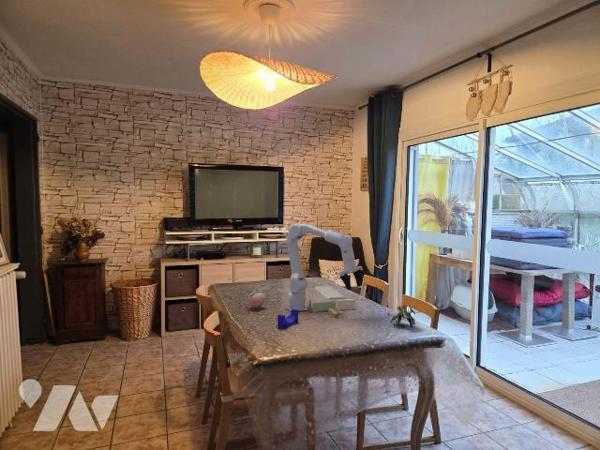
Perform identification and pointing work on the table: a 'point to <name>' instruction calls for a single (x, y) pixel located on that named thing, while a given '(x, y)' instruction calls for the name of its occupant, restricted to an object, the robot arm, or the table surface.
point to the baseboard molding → (329, 292)
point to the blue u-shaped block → (288, 319)
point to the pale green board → (341, 304)
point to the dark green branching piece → (403, 314)
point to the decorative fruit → (256, 299)
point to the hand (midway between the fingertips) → (354, 287)
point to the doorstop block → (335, 312)
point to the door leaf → (323, 306)
